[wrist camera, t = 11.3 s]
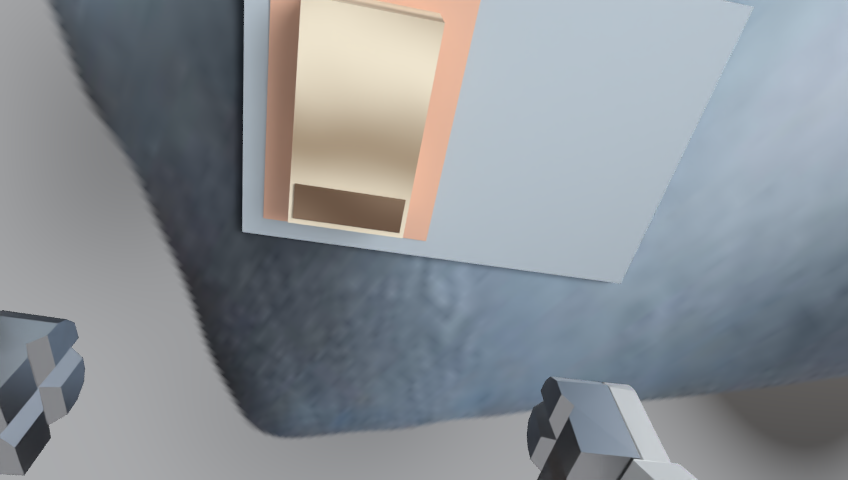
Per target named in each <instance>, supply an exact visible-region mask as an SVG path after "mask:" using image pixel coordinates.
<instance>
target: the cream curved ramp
mask: <svg viewBox="0 0 848 480" xmlns="http://www.w3.org/2000/svg"><path fill="white" fill-rule="evenodd" d="M444 25H445V22H444V20H443V18H442V16H441V14H440V13H437V12H432V11H427V10H422V9H417V8H412V7H407V6H402V5H397V4H392V3H387V2H382V1H377V0H301V7H300V24H299V41H298V57H297V74H296V91H295V108H294V125H293V142H292V159H291V176H290V193H289V210H288V223H296V224H303V225H310V226H317V227H324V228H332V229H339V230H346V231H353V232H360V233H367V234H375V235H382V236H389V237H396V238H403V235H404V229H405V224H406V219H407V214H408V209H409V204H410V199H411V194H412V189H413V184H414V178H415V173H416V168H417V163H418V158H419V153H420V148H421V143H422V138H423V132H424V127H425V122H426V117H427V112H428V107H429V102H430V97H431V92H432V87H433V81H434V76H435V71H436V66H437V61H438V56H439V51H440V46H441V41H442V36H443V30H444Z"/></svg>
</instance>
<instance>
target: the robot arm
mask: <svg viewBox="0 0 848 480" xmlns="http://www.w3.org/2000/svg"><path fill="white" fill-rule="evenodd" d="M77 339H78V334H77V330H76V326H75V323H74V322H72V321H69V320H67V319H60V318H53V317H46V316H39V315H31V314H25V313H17V312H10V311H4V310H2V311H0V474H7V475H25V474H26V472H27V471H28V469H29V468H30V467H31V465H32V464H33V462H34V461H35V460H36V458H37V457H38V455H39V454H40V453H41V451H42V450H43V448H44V447H45V445H46V444H47V443H48V441H49V440H50V438H51V435H50V429H49V424H51V423H53V422H55V421H57V420H58V419H60V418H62V417H63V416H65V415H67V414H68V413H69V411H70V410H71V408H72V407H73V405H74V404H75V402H76V400H77V399H78V396H79V393H80V391H81V388H82V385H83V382H84V372H85V367H84V361H83V357H81V356H80V355H79V354H78V353H77V352H76V351H75V350H74V349H73V348H72V345H73V344H74V343H75V342H76V340H77ZM541 393H542V397H543V400H544V401H543V402H541V403H540V404H538V405H537V406H535V407H533V410H532V413H531V415H530V418H529V422H528V429H527V443H528V450H529V455H530V459H531V460H532V462H533V463H534V464H535V465H536V466H537V467H538V468H539V469H540V470H541V473H540V475H539V477H538V479H537V480H698V479H696V478H695V477H694V476H693V475H692V474H691V473H689V472H688V471H687V470H686V469H685V468H684V467H683V466H681V465H680V464H677V463H671V461H670V459H669V457H668V455H667V453H666V451H665V449H664V448H663V445H662V443H661V441H660V439H659V437H658V435H657V433H656V432H655V429H654V428H653V425H652V423H651V422H650V419H649V417H648V415H647V413H646V412H645V409H644V408H643V406H642V404H641V402H640V400H639V398H638V396H637V394H636V392H635V390H634V389H633V388H632V387H631V386H630V385H625V384H616V383H607V382H602V383H601V382H596V381H587V380H578V379H569V378H560V377H549V378H548V379H547V380H546V381H545V383H544V385H543V387H542V389H541Z"/></svg>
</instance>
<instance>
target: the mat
mask: <svg viewBox="0 0 848 480" xmlns="http://www.w3.org/2000/svg"><path fill="white" fill-rule="evenodd" d="M377 1H382V2H387V3H392V4H397V5H402V6H407V7H412V8H417V9H422V10H427V11H432V12H437V13H440V14H441V16H442V18H443V20H444V22H445V25H444V30H443V36H442V41H441V46H440V51H439V56H438V61H437V66H436V71H435V76H434V81H433V87H432V92H431V97H430V102H429V107H428V112H427V117H426V122H425V127H424V132H423V138H422V143H421V148H420V153H419V158H418V163H417V168H416V173H415V178H414V184H413V189H412V194H411V199H410V204H409V209H408V214H407V219H406V224H405V229H404V235H403V238H396V237H389V236H382V235H375V234H367V233H360V232H353V231H346V230H339V229H332V228H324V227H317V226H310V225H303V224H296V223H288V210H289V193H290V176H291V159H292V142H293V125H294V108H295V91H296V74H297V57H298V41H299V24H300V7H301V0H244V85H243V201H242V232H247V233H254V234H262V235H269V236H276V237H283V238H291V239H298V240H305V241H313V242H320V243H327V244H335V245H342V246H349V247H357V248H364V249H371V250H379V251H386V252H393V253H400V254H408V255H415V256H422V257H430V258H437V259H444V260H452V261H459V262H466V263H474V264H481V265H488V266H495V267H503V268H510V269H517V270H525V271H532V272H539V273H547V274H554V275H561V276H569V277H576V278H583V279H590V280H598V281H605V282H612V283H620V284H621V282H622V280H623V278H624V276H625V274H626V272H627V270H628V268H629V266H630V264H631V262H632V260H633V257H634V255H635V253H636V251H637V249H638V247H639V245H640V243H641V241H642V239H643V237H644V235H645V233H646V230H647V228H648V226H649V224H650V222H651V220H652V218H653V216H654V214H655V212H656V210H657V208H658V206H659V203H660V201H661V199H662V197H663V195H664V193H665V191H666V189H667V187H668V185H669V183H670V181H671V179H672V176H673V174H674V172H675V170H676V168H677V166H678V164H679V162H680V160H681V158H682V156H683V154H684V152H685V149H686V147H687V145H688V143H689V141H690V139H691V137H692V135H693V133H694V131H695V129H696V127H697V125H698V122H699V120H700V118H701V116H702V114H703V112H704V110H705V108H706V106H707V104H708V102H709V100H710V98H711V95H712V93H713V91H714V89H715V87H716V85H717V83H718V81H719V79H720V77H721V75H722V73H723V71H724V68H725V66H726V64H727V62H728V60H729V58H730V56H731V54H732V52H733V50H734V48H735V46H736V44H737V42H738V39H739V37H740V35H741V33H742V31H743V29H744V27H745V25H746V23H747V21H748V19H749V17H750V15H751V12H752V10H753V8H754V7H751V6H747V5H743V4H738V3H734V2H729V1H725V0H377Z"/></svg>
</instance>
